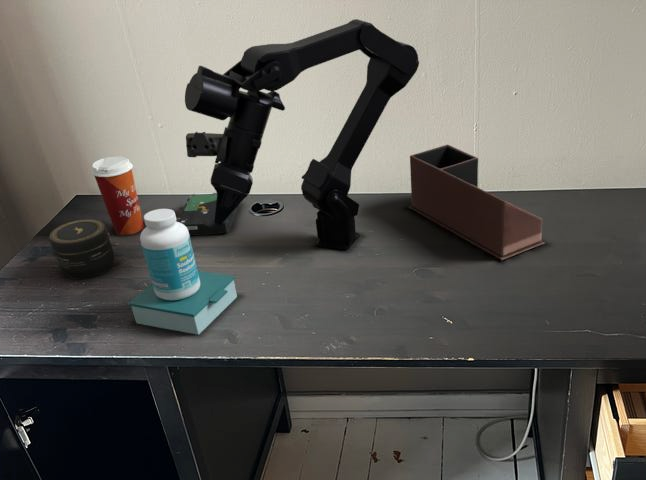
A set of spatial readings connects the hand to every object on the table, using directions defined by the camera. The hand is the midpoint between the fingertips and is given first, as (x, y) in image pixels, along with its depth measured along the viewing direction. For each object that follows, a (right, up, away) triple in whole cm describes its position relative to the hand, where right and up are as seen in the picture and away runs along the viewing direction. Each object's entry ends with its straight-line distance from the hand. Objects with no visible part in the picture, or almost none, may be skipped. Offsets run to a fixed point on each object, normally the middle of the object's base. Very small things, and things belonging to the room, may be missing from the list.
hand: (218, 217), depth 125 cm
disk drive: (-8, +5, +27) cm, 28 cm away
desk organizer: (+45, +2, +19) cm, 49 cm away
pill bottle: (-5, -13, -4) cm, 15 cm away
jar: (-27, -7, +12) cm, 30 cm away
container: (-5, -16, -2) cm, 17 cm away
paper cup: (-24, +2, +25) cm, 35 cm away
